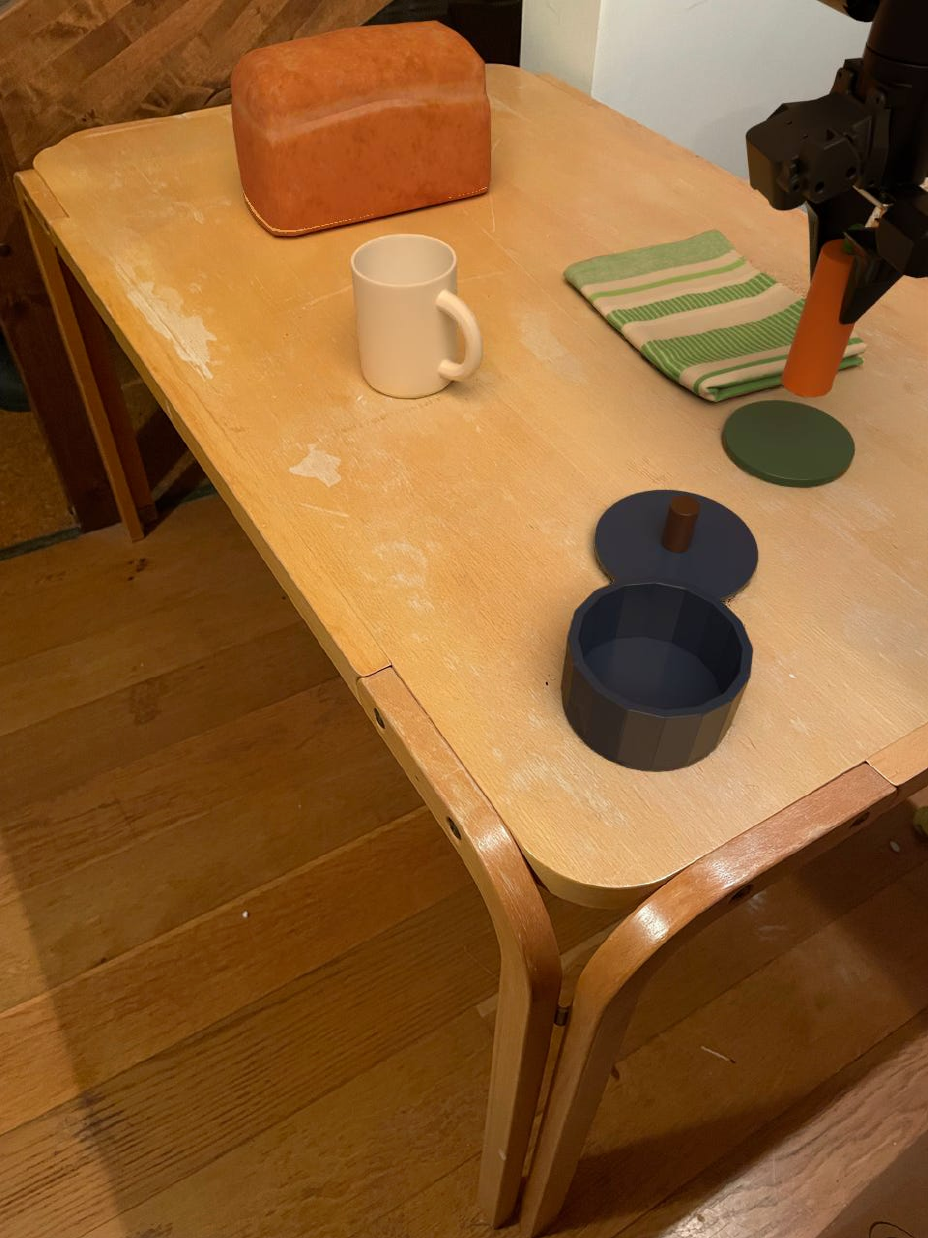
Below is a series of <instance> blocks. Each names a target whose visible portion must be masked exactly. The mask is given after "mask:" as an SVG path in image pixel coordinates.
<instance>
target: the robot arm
mask: <svg viewBox="0 0 928 1238" xmlns="http://www.w3.org/2000/svg"><path fill="white" fill-rule="evenodd" d="M816 1H817V2H819V3H821V4H823V5H824V6H827V7H829V8H831V9H833V10H835V11H837V12H838V13H841V14H842V15H844V16H846V17H848V18H850V19H852V20H854V21H856V22H861V23H867V24H868V23H871V25H870V29H869V31H868V36H867V39H866V41H865V45H864V48H863V51H862V55H861V57H851V58H844V61H843V64H842V66H841V67H839V68H838V69H837V70H836V74H835V76H834V80H833V84H832V87H831V88H830V91H829V93H828V94H825V95H823V96H822V95H821V96H820V97H817V98H815V99H810V100H800V101H790V102H789V101H788V102H782V103H781V104H780V105H779V106H778V107H777V108H776V109H775V110H774V111H773V112H772V113H771V114H770V115H769V116H768V117H767V118H766V119H765V120H763V121H761V122H759V123H757V124H755V125H753V126H752V127H750V128H749V129H748V130H747V131H746V133H745V146H746V156H747V165H748V166H747V168H748V178H749V186H750V187H751V188H752V189H753V191H758V192H759V193H760V195H762V196H763V197H764V198H765V199H766V200H767V201H768V203H769V206H770V207H771V208H772V209H774V210H776V211H780V212H786V211H793V210H796V209H797V208H799V207H801V206H803V205H804V206H805V208H806V212H807V220H808V239H809V241H808V242H809V283H810V284H811V281H812V277H813V274H814V271H815V268H816V265H817V261H818V258H819V255H820V252H821V249H822V246H823V245H824V244H825V243H827V242H829V241H832V240H837V239H845V236H846V238H847V239H848V241H849V243H850V244H851V246H852V247H853V249H854V251H855V255H854V259H853V263H852V267H851V270H850V274H849V278H848V282H847V285H846V289H845V293H844V297H843V300H842V305H841V311H840V317H839V322H840V323H841V324H842V325H846V324H853V323H855V324H856V323H857V322H858V321H859V320H860V319H861V318H862V317H863V316H864V315H865V314H866V313H867V312H868V311H870V309H871V308H872V307H873V306H874V305H875V304H876V303H877V302H878V301H879V300H880V299H881V298H882V297H883V296H885V294H886V293H887V292H888V291H890V289H892V288H893V286H894V285H896V283H898V282H899V281H900V280H901V279H902V278H903V277H904V276H905V277H909V278H912V279H913V278H914V279H924V278H928V190H927V189H925V188H924V187H922V185H923V184H925V181H926V179H928V0H816ZM876 208H878V209H879V210H880V212H879V214H878V217H875V218H874V219H873V222H872V225H871V226H867V224H868V222H869V220H870V218H871V217H872V215H873V213H874V211H875V210H876ZM854 224H862V225H864V226H865V227H864V228H856V229H849V228H850V227H851V226H852V225H854ZM810 284H809V285H810Z"/></svg>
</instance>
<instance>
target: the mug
mask: <svg viewBox="0 0 928 1238" xmlns="http://www.w3.org/2000/svg"><path fill="white" fill-rule="evenodd" d="M349 263H350V273H351V284H352V293H353V302H354V311H355V320H356V321H355V323H356V331H357V342H358V351H359V360H360V367H361V372H362V375H363V377H364V379H365V381H366V382H367V383H368V385H369V386H370V387H372V388H373V389H374V390H376V391H377V392H379V393H381V394H382V395H385V396H388V397H393V398H397V399H398V398H399V399H419V398H423V397H428V396H431V395H434V394H436V393H438V392H440V391H442V390H444V388H446V387H447V386H448V385H449V384H450V383H451V382H452V381H456V382H461V381H463V382H464V381H465V380H468V379H471V378H472V377H473V376H475V374H476V373H477V372H478V370H479V369H480V366H481V364H482V360H483V355H484V353H483V352H484V341H483V336H482V332H481V328H480V325H479V322H478V320H477V318H476V316H475V315H474V313H473V311H472V310H471V309H470V307H469V306H468V305H467V303H465V302H464V301H463V300H462V299H461V298H460V297H458V257H457V253H456V252H455V250H454V249H453V248H452V247H451V245H449V244H448V243H446V242H445V241H443V240H441V239H438V238H436V237H433V236H428V235H424V234H419V233H418V234H417V233H393V234H388V235H382V236H379V237H375V238H373V239H370V240H368V241H366V242H364V243H363V244H361V245H360V246H358V247H357V248H356V249H355V250H354V251H353V253H352V254H351V257H350V261H349ZM458 327H459V328H460V330H461V333H462V335H463V339H464V342H465V350H466V351H465V357H464V359H463V362H461V363H458V360H459V358H458V355H459V354H458V353H459V352H458V351H459V350H458V349H459V348H458V347H459V346H458V345H459V343H458V337H459V336H458Z"/></svg>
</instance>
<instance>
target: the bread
mask: <svg viewBox="0 0 928 1238" xmlns="http://www.w3.org/2000/svg"><path fill="white" fill-rule="evenodd" d="M229 81H230V90H231V98H232V99H231V106H230V111H231V125H232V135H233V139H234V147H235V153H236V160H237V165H238V171H239V177H240V183H241V188H242V187H243V189H242V191H243V190H244V193H245V195H246V197H247V198H248V200H249V202H250V203H251V205H252V206H253V207H254V209H255V210H256V211H257V213H258V214H259V215H260V217H261V218H262V219H263V220H264V221H265V222H266V223H267V224H268V225H269V226H271V227H272V228H276V229H280V230H299V229H304V228H305V229H307V228H312V227H315V226H320V227H316V228H312V229H307V230H303V231H296V232H286V233H285V232H278V231H272V230H271V229H270V228H268V227H267V226H266V225H265V224H264V223H263V222H262V221H261V220H260V219H259V218H258V217H257V216H256V214H255V213H254V212H253V211H252V209H251V207H250V205H249V204H248V202H247V201H246V199H245V196H244V193H243V192H242V194H243V198H244V201H245V205H246V206H247V208H248V210H249V211H250V214H251V216H252V217H254V219H255V220H256V221H257V222H258V224H259V225H260V226H261V227H262V228H264V229H265V230H266V231H268V232H269V233H270V234H272V235H273V236H277V237H278V236H280V237H281V236H282V237H297V236H300V235H305V234H309V233H313V232H317V231H322V230H326V229H331V228H335V227H340V226H344V225H348V224H353V223H358V222H363V221H367V220H372V219H377V218H380V217H385V216H389V215H393V214H398V213H402V212H406V211H411V210H416V209H420V208H424V207H428V206H434V205H439V204H442V203H447V202H452V201H456V200H460V199H465V198H470V197H473V196H477V195H481V194H485V193H486V192H487V191H488V190H489V188H490V186H491V184H490V182H491V183H492V111H491V110H492V109H491V103H490V99H489V96H488V93H487V77H486V62H485V60H484V59H483V58H482V57H481V56H480V54H479V53H478V52H477V51H476V49H475V48H474V47H473V46H472V45H471V43H470V42H469V41H468V40H467V39H466V38H465V37H464V36H463V35H461V34H460V33H459V32H457V31H456V30H454V29H452V28H450V27H448V26H447V25H445V24H443V23H441V22H439V21H438V20H428V21H410V22H401V23H391V24H390V23H389V24H374V25H364V26H354V27H353V26H352V27H343V28H339V29H335V30H331V31H327V32H323V33H320V34H319V33H318V34H316V35H315V34H314V35H312V36H306V37H300V38H295V39H292V40H287V41H282V42H279V43H274V44H271V45H267V46H263V47H260V48H255V49H253V50H251V51H249V52H247V53H245V54H243V55H242V56H240V59H238V61H237V63H236V65H235V66H234V67H233V69H232V71H231V75H230V80H229ZM488 186H489V187H488ZM485 187H487V188H485ZM482 188H485V189H482ZM481 189H482V190H481ZM479 190H480V191H479ZM476 191H477V192H476ZM472 192H473V193H472ZM468 193H469V194H468ZM463 194H464V195H463ZM459 195H460V196H459ZM449 197H451V198H449ZM372 214H373V215H372ZM367 215H369V216H367ZM364 216H365V217H364ZM360 217H361V218H360ZM354 218H355V219H354ZM349 219H351V220H349ZM343 220H344V221H343ZM345 220H347V221H345ZM339 221H342V222H339ZM334 222H338V223H334ZM330 223H333V224H330ZM325 224H329V225H325ZM321 225H325V226H321Z"/></svg>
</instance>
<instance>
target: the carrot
mask: <svg viewBox="0 0 928 1238" xmlns="http://www.w3.org/2000/svg"><path fill="white" fill-rule="evenodd" d="M864 227H866V226H864V225H862V224H854V225H852V226H851V227H850V228H849V229H856V228H864ZM854 255H855V251H854V249H853V247H852V246H851V244H850V243H849V241H848V239H847V238H846V236H845V239H837V240H832V241H829V242H827V243H825V244H824V245H823V246H822V249H821V252H820V255H819V258H818V261H817V265H816V268H815V271H814V274H813V277H812V281H811V284H809V287H808V291H807V294H806V297H805V298H806V300H805V303H804V306H803V309H802V313H801V316H800V319H799V322H798V325H797V329H796V332H795V335H794V338H793V341H792V345H791V348H790V351H789V354H788V357H787V361H786V364H785V367H784V370H783V374H782V377H781V382H782V384H781V385H782V386H783V388H785V389H786V390H787V391H788V392H790V393H792V394H794V395H796V396H799V397H805V398H819V397H823V396H826V395H827V394H829V392H830V391H831V390H832V388H833V385H834V382H835V380H836V377H837V374H838V371H839V370H840V369H839V366H840V363H841V360H842V358H843V355H844V352H845V349H846V347H847V344H848V341H849V339H850V336H851V333H852V330H854V328H855V324H856V322H855V323H853V324H846V325H842V324H841V323H840V322H839V317H840V311H841V305H842V300H843V297H844V293H845V289H846V285H847V282H848V278H849V274H850V270H851V267H852V263H853V259H854ZM838 369H839V370H838Z"/></svg>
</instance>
